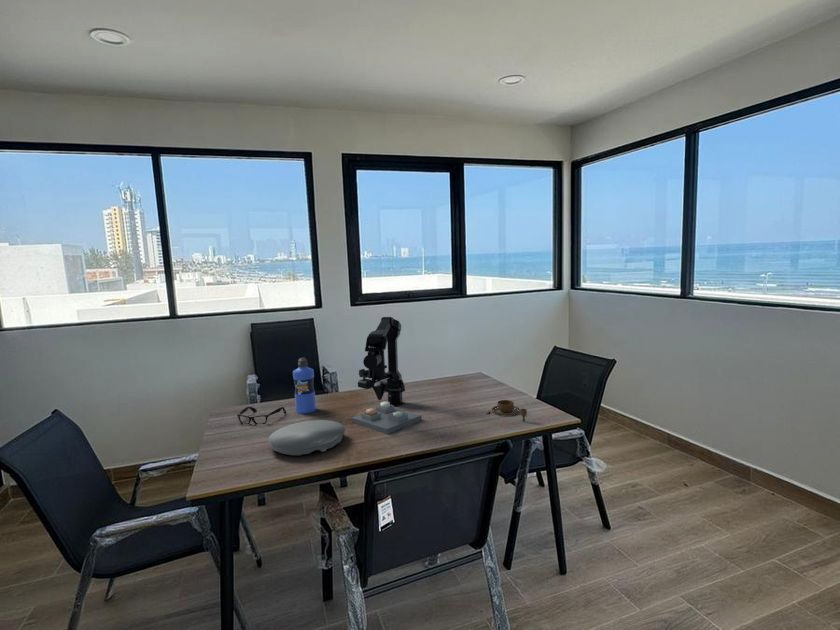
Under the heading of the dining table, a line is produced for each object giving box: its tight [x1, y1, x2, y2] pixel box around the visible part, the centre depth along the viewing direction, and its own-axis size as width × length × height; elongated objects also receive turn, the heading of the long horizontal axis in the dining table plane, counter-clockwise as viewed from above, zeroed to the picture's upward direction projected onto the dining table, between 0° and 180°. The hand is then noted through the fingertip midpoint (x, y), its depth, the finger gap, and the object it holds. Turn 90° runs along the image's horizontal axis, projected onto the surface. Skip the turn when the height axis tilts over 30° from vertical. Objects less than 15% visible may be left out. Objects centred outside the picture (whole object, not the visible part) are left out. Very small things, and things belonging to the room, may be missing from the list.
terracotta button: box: [365, 407, 376, 416], centre depth 190 cm, size 4×4×2 cm
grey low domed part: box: [268, 419, 346, 456], centre depth 169 cm, size 28×28×4 cm
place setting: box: [487, 399, 528, 423], centre depth 193 cm, size 18×20×6 cm
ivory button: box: [380, 401, 390, 409], centre depth 198 cm, size 4×4×2 cm
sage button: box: [393, 411, 403, 417], centre depth 187 cm, size 4×4×2 cm
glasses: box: [236, 406, 286, 425], centre depth 202 cm, size 17×18×5 cm
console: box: [351, 404, 423, 435], centre depth 191 cm, size 20×22×4 cm
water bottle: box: [292, 357, 317, 415], centre depth 208 cm, size 9×9×25 cm
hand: (379, 399), depth 188 cm, fingers closed
